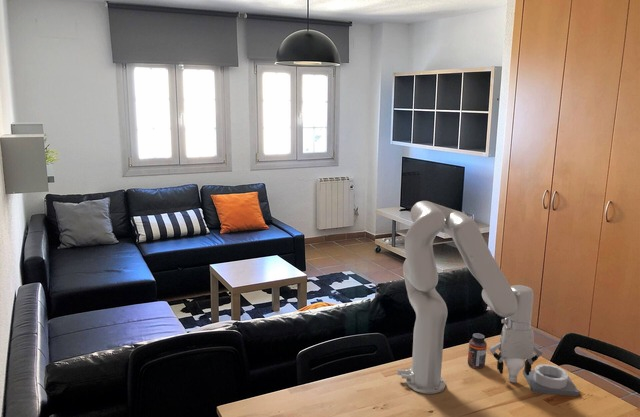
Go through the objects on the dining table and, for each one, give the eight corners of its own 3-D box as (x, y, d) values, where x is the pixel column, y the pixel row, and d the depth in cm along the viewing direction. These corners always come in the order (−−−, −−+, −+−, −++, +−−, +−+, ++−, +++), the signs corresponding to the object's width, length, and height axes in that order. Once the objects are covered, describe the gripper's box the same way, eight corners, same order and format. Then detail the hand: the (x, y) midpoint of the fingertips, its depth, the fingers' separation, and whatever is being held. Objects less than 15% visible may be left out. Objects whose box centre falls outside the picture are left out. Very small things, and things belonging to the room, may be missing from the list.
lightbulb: (524, 388, 171) (527, 357, 168) (503, 385, 172) (506, 355, 170) (520, 378, 177) (523, 348, 175) (501, 375, 178) (503, 346, 176)
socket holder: (533, 392, 168) (534, 380, 167) (522, 373, 180) (524, 361, 179) (578, 395, 167) (580, 383, 166) (565, 376, 178) (566, 364, 177)
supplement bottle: (464, 362, 187) (466, 332, 185) (478, 359, 189) (480, 330, 186) (473, 370, 182) (476, 340, 179) (488, 368, 183) (491, 338, 181)
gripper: (493, 326, 167) (488, 376, 171) (549, 329, 166) (544, 380, 169) (488, 317, 175) (484, 365, 178) (542, 320, 173) (537, 368, 177)
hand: (513, 372), depth 174 cm, fingers open, 7 cm apart
